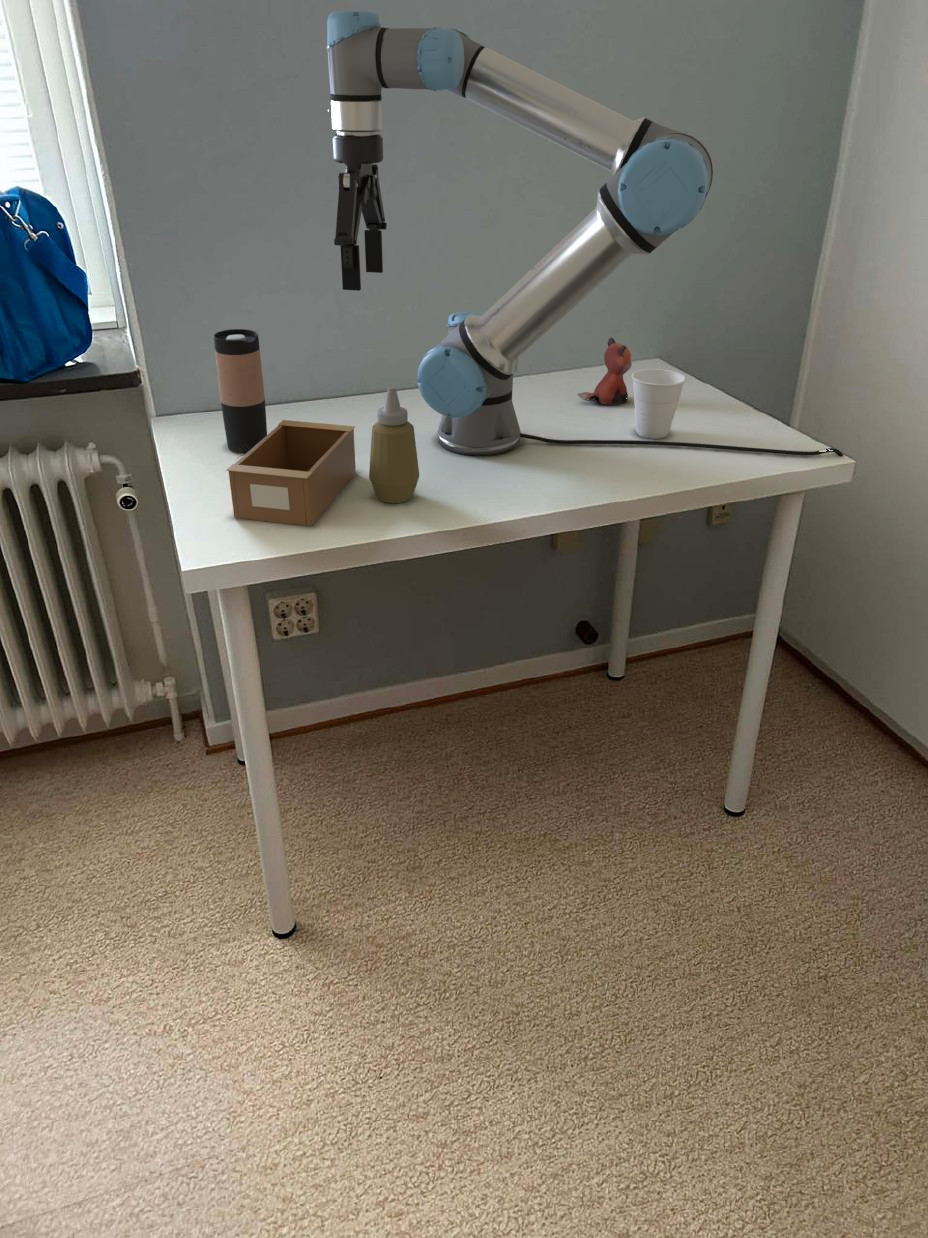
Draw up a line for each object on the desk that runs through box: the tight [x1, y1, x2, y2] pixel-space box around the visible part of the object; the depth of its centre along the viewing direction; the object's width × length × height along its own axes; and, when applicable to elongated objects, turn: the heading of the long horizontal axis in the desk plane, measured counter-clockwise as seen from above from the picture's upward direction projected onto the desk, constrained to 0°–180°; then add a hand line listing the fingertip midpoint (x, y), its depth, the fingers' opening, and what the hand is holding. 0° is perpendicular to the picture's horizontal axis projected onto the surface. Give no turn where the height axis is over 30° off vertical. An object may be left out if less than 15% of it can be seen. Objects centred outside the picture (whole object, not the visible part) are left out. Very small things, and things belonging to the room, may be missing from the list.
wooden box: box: [225, 419, 357, 527], centre depth 153 cm, size 13×23×8 cm, turn 167°
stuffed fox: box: [577, 337, 632, 406], centre depth 195 cm, size 8×11×12 cm
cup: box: [631, 368, 687, 440], centre depth 179 cm, size 10×10×11 cm
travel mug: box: [213, 328, 268, 454], centre depth 168 cm, size 8×8×20 cm
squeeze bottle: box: [368, 385, 420, 504], centre depth 150 cm, size 8×8×18 cm
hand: (363, 280), depth 154 cm, fingers open, 13 cm apart
